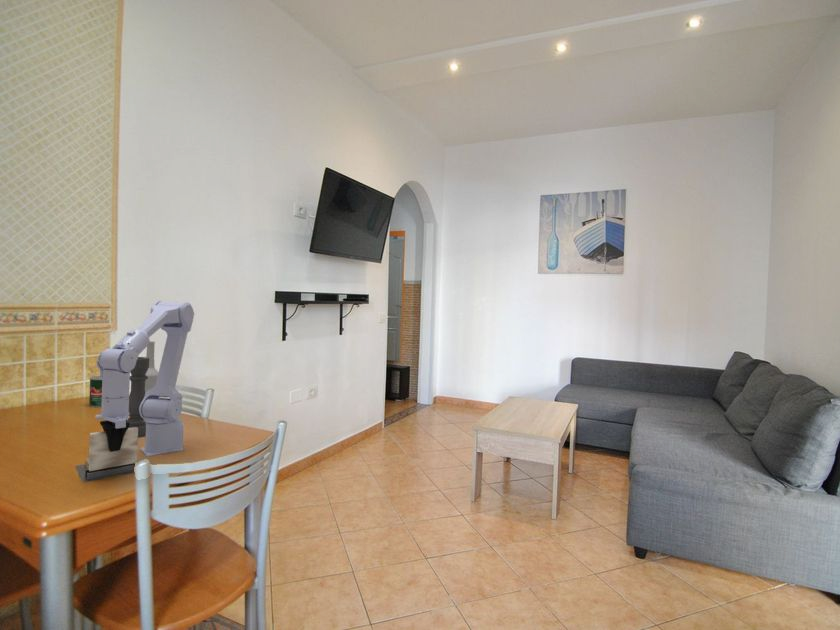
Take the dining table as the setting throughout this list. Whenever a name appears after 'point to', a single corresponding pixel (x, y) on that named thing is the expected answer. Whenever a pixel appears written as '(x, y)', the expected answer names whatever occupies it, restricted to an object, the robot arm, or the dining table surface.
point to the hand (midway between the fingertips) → (113, 449)
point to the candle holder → (138, 394)
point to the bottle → (151, 368)
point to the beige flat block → (105, 458)
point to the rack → (103, 472)
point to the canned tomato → (95, 392)
